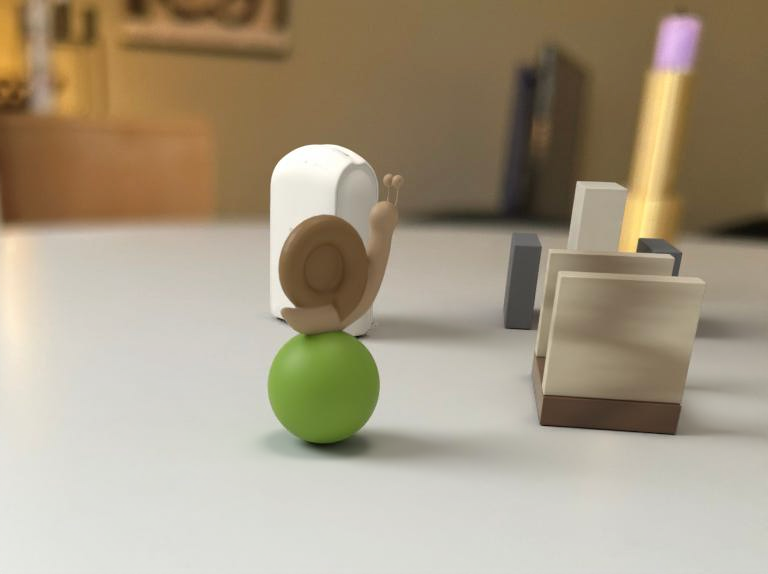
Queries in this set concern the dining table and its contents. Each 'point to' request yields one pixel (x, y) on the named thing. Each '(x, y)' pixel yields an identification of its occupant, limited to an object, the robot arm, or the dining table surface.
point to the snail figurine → (330, 323)
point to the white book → (597, 216)
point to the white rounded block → (319, 204)
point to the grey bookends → (527, 268)
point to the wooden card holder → (614, 340)
